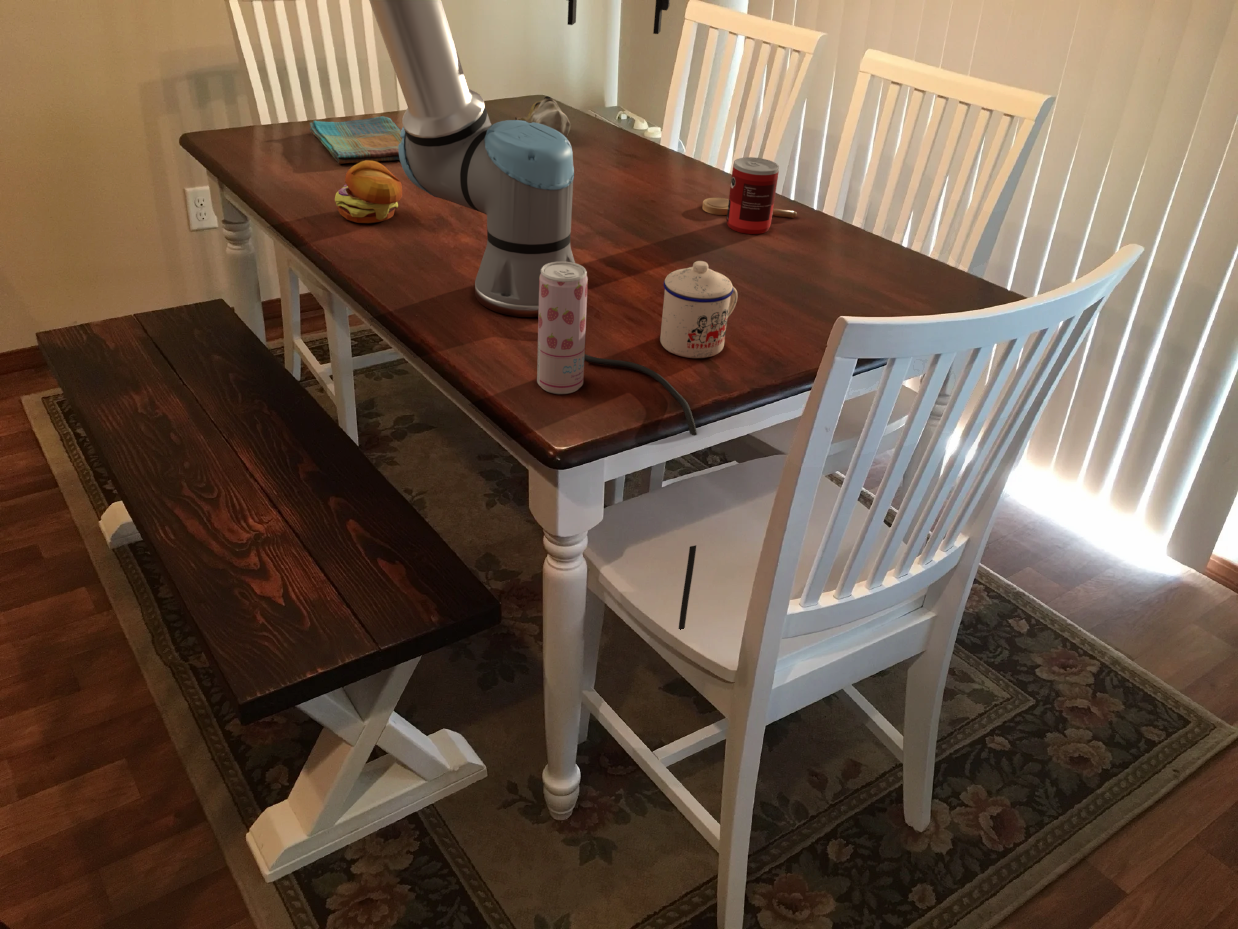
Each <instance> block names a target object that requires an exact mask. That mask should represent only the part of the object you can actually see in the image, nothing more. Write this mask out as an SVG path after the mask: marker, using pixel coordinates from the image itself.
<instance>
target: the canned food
mask: <svg viewBox="0 0 1238 929" xmlns="http://www.w3.org/2000/svg"><path fill="white" fill-rule="evenodd" d="M779 171H780V166H779V165H778V163H776V162H775V161H772V160H769V159H766V158H762V157H753V156H752V157H750V156H745V157H739V158H736V159H735V160H734V161H733V163H732V171H731V177H730V178H731V179H730V186H729V195H728V200H729V203H728V211H727V215H726V225H727V227H728V228H729V229H731V230H732V231H734V232H737V233H740V234H745V235H746V234H747V235H761V234H765V233H767V232H768V231H769V229H770V227H771V225H772V217H773V216H772V213H773V209H774V207H775V206H774V205H775V198H776V193H777V185H778V179H779Z"/></svg>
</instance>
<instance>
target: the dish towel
mask: <svg viewBox="0 0 1238 929" xmlns="http://www.w3.org/2000/svg"><path fill="white" fill-rule="evenodd" d="M309 126H310V127H309V131H310V133H311V134H312V135H313V136H314V137H316V138H317V139H318V141H319V142H320V143H321V144H322V145H323V147H325V148H326V150H327V151H328V152H329V153H330V155H331V156H332V157H333V159H334V160H335V161H336V162H337V164H338V165H343V164H358V163H360V162H362V161H365V160H369V161H376V162H387V161H388V162H389V161H400V158H399V150H398V145H399V143H401V141H402V138H401V137H400V134H401V130H402V129H401V128H399V126H397V124H396V123H395V122H394V121H393V120H392V118H390V117H388V116H376V117H375V116H374V117H369V118H363V119H355V120H353V119H352V120H346V121H338V122H337V121H321V120H318V121H317V120H313V122H309Z"/></svg>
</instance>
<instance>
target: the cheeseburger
mask: <svg viewBox="0 0 1238 929" xmlns="http://www.w3.org/2000/svg"><path fill="white" fill-rule="evenodd" d="M344 183H345V184H343V187H341V188H340V189H338V191H337V192H336V193H335V196H334V202H335V204H336V207H337V211H338V213H339V215H340V216H342V217H343V218H344V219H346V220H347V221H350V222H354V223H357V224H375V223H376V224H377V223H380V222H384V221H387V220H389V219H391V218H392V217H394V214H395V210H396V209H398V207H399V203H398V202H399V201H400V200H401V199H402V197H403V185H402V183H401V181H400V180H399V178H398V177H396V176H395V175H394V174H393V173H392V172H391V171H390V170H389V169H388V168H387V167H386V166H385V165H383V163H380V162H379V161H369V160H365V161H362V162H359V163H355V164H354V165H352V166H351V167H350V168H349V169H348V170H347V172H346V173H345V175H344Z"/></svg>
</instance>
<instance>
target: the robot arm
mask: <svg viewBox="0 0 1238 929" xmlns="http://www.w3.org/2000/svg"><path fill="white" fill-rule="evenodd" d="M577 1H578V0H567V4H568V5H567V25H568V26H573V25H574V24H576V22H577V4H578V3H577ZM368 2H369V4H370V6H371V9H372V12H373V16H374V17H375V21H376V23H377V26H378V28H379V29H378V30H379V32H380V34H381V37H382V40H383V42H384V45H385V48H386V51H387V53H388V56H389V59H390V62H391V65H392V68H393V71H394V73H395V76H396V79H397V81H398V84H399V87H400V89H401V92H402V95H403V98H404V100H405V103H406V106H407V109H406V110H405V112H404V113H403V115H402V119H401V123H402V128H401V129H400V130H401V134H400V137H401V138H402V141H401V143H399V145H398V150H399V158H400V160H399V162H400V165H401V167H402V168H401V169H402V170H403V172H404V174H405V175H406V177H407V178H408V179H409V181H410V182H411V183H412V184H413V185H414V186H416V187H417V188H418V189H420V190H422V191H424V192H426V193H427V194H428V195H430V196H432V197H434V198H437V199H438V198H439V199H441V200H444V201H445V200H446V201H448V202H451V203H454V204H456V205H459V206H462V207H465V208H468V209H470V210H473V211H476V212H479V213H481V214H484V215H486V239H487V241H486V246H485V250H484V252H483V256H482V259H481V261H480V265H479V267H478V270H477V273H476V277H475V280H474V293H475V294H474V295H475V298H476V300H477V302H479V303H480V305H481V306H483V307H484V308H486V309H488V310H491V311H493V312H495V313H498V314H503V315H507V316H512V317H520V318H538V316H539V277H540V274H541V269H542V267H543V266H544V265H546V264H548V263H551V262H559V261H564V262H572V263H576V261H575V258H574V255H573V251H572V247H571V233H572V215H573V214H572V212H573V194H574V179H575V168H574V167H575V166H574V153H573V147H572V144H571V142H570V141H569V139H568V138H567V137H565V136H564V135H563V134H561V133H560V132H558V131H557V130H555V129H553V128H550V127H548V126H546V125H543V124H539V123H535V122H532V123H528V122H526V121H522V120H516V119H507V120H500V121H497V122H495V123H493V124H492V123H491V120H490V117H489V114H488V111H487V108H486V104H485V101H484V98H483V97H482V95H481V94H480V93H478V92H477V91H475V90H473V89H470V88H469V85H468V83H467V79H466V76H465V73H464V70H463V66H462V62H461V60H460V56H459V54H458V51H457V47H456V44H455V40H454V37H453V34H452V30H451V27H450V24H449V22H448V18H447V15H446V11H445V8H444V4H443V2H442V0H368ZM670 4H671V0H655V8H654V17H653V19H654V20H653V32H652V34H653V35H659V34H660V32H661V30H662V18H663V17H662V16H663V11H665V12H666V11H668V10H669V9H670ZM584 362H588V363H590V364H595V365H601V366H607V367H618V368H626V369H631V370H633V371H634V370H635V371H638V372H640V373H642V374H644V375H647V376H649V377H651V378H652V379H653V380H655V381H656V382H658V383H659V384H660V385H661V386H662V387H663V388H664V389H665V390H666V391H667V392H668V393H669V395H671V396H672V397H673V399H675V401H676V402H677V403H678V404H679V405H680V406H681V407H682V411H683V414H684V416H685V419H686V424H687V427H688V430H689V434H690V435H691V436H698V431H697V428H696V423H695V419H694V417H693V413H692V410H691V408H690V405H689V403H688V401H687V400H686V399H685V398H684V397H683V395H682V394H680V392H678V391H677V390H676V388H674V386H673V385H671V383H670V382H669V381H668V380H666V379H665V378H664V377H663V376H662V375H661V374H659V373H658V372H656V371H654V370H653V369H651V368H648V367H647V366H645V365H641V364H639V363H635V362H632V361H626V360H620V359H612V358H611V359H610V358H602V357H597V356H591V355H588V354H586V353H585V354H584ZM688 549H689V550H688V557H687V564H686V572H685V579H684V585H683V591H682V598H681V606H680V613H679V621H678V629H680V630H681V629H684V628H685V629H686V621H687V615H688V614H687V613H688V607H689V599H690V592H691V587H692V580H693V575H694V574H693V573H694V566H695V559H696V552H697V545H690V546H689V548H688Z"/></svg>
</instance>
